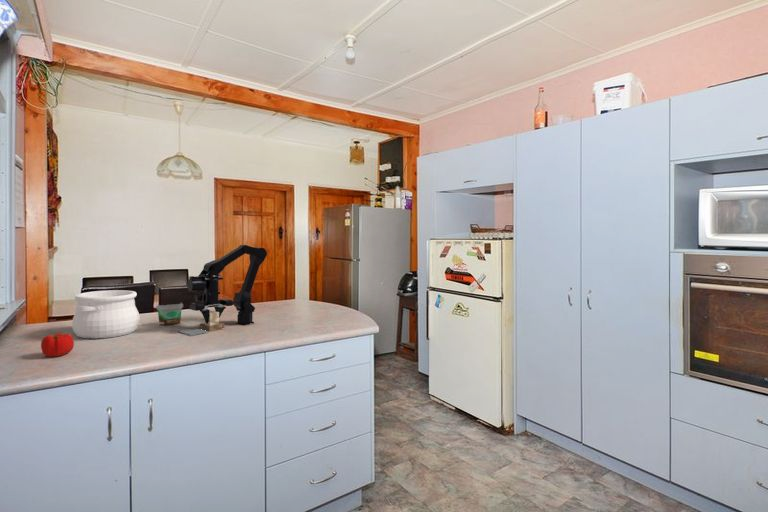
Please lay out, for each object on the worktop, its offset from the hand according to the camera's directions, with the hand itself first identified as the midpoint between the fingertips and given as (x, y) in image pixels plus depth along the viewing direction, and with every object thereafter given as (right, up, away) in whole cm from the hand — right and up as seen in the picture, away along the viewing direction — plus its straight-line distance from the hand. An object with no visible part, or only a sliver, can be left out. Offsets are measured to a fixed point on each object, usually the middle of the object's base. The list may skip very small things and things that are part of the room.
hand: (211, 322), depth 188 cm
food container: (-22, -2, +7) cm, 23 cm away
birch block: (0, -3, 0) cm, 3 cm away
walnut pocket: (0, -3, 0) cm, 3 cm away
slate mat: (-5, -3, -7) cm, 9 cm away
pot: (-41, -3, -12) cm, 43 cm away
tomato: (-37, -5, -43) cm, 57 cm away
